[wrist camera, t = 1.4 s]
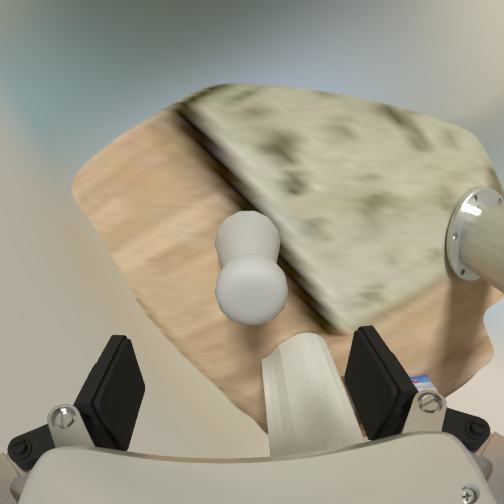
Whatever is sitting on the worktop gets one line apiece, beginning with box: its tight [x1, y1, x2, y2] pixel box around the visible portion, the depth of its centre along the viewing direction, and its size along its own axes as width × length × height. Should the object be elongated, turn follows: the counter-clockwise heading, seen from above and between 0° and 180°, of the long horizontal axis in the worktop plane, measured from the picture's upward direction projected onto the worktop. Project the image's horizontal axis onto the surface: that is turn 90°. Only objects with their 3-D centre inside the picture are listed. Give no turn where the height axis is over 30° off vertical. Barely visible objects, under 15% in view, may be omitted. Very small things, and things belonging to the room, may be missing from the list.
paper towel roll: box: [261, 332, 365, 457], centre depth 23 cm, size 7×6×21 cm
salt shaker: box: [215, 211, 288, 325], centre depth 22 cm, size 6×6×13 cm
